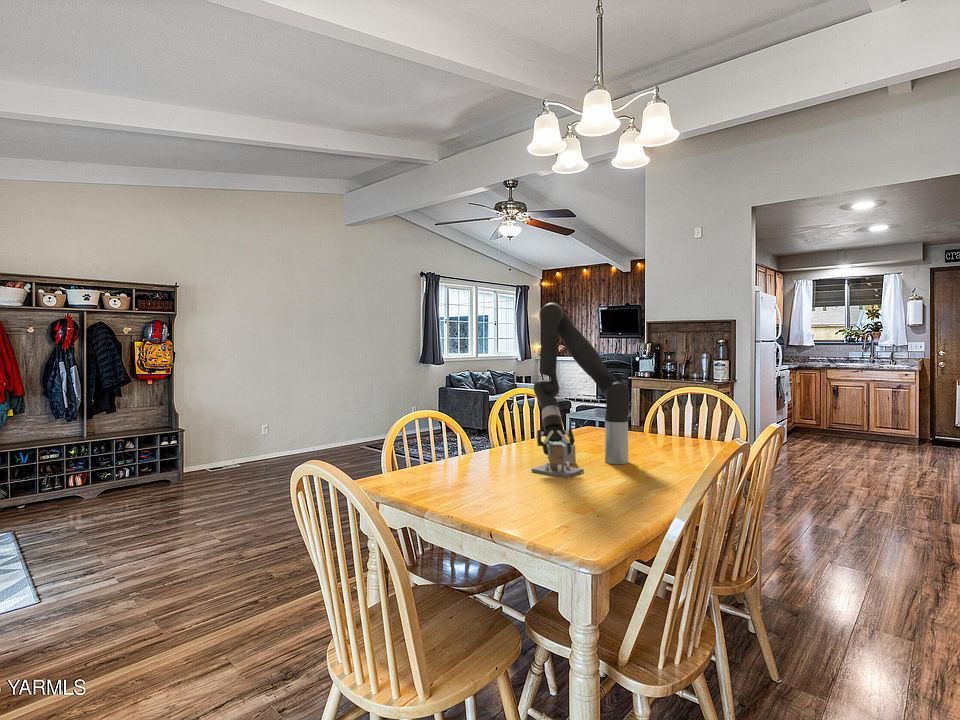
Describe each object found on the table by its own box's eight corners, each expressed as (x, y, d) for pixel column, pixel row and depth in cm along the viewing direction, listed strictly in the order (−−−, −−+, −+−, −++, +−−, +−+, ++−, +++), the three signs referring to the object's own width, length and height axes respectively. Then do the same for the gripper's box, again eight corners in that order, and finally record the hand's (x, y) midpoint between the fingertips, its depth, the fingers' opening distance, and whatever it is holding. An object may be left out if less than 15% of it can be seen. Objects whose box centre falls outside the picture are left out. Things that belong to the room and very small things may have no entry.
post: (549, 467, 211) (549, 444, 210) (561, 467, 211) (561, 444, 211) (552, 470, 206) (551, 447, 206) (563, 470, 206) (563, 446, 206)
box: (562, 456, 236) (562, 439, 236) (576, 463, 223) (575, 445, 223) (547, 457, 234) (547, 440, 234) (559, 464, 221) (559, 446, 221)
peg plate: (548, 466, 218) (548, 457, 218) (583, 472, 208) (583, 462, 208) (531, 471, 209) (531, 462, 209) (566, 478, 199) (566, 468, 199)
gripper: (535, 414, 215) (540, 448, 204) (570, 413, 216) (578, 447, 205) (533, 425, 220) (538, 459, 209) (567, 424, 221) (574, 458, 210)
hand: (558, 453), depth 207 cm, fingers open, 8 cm apart
